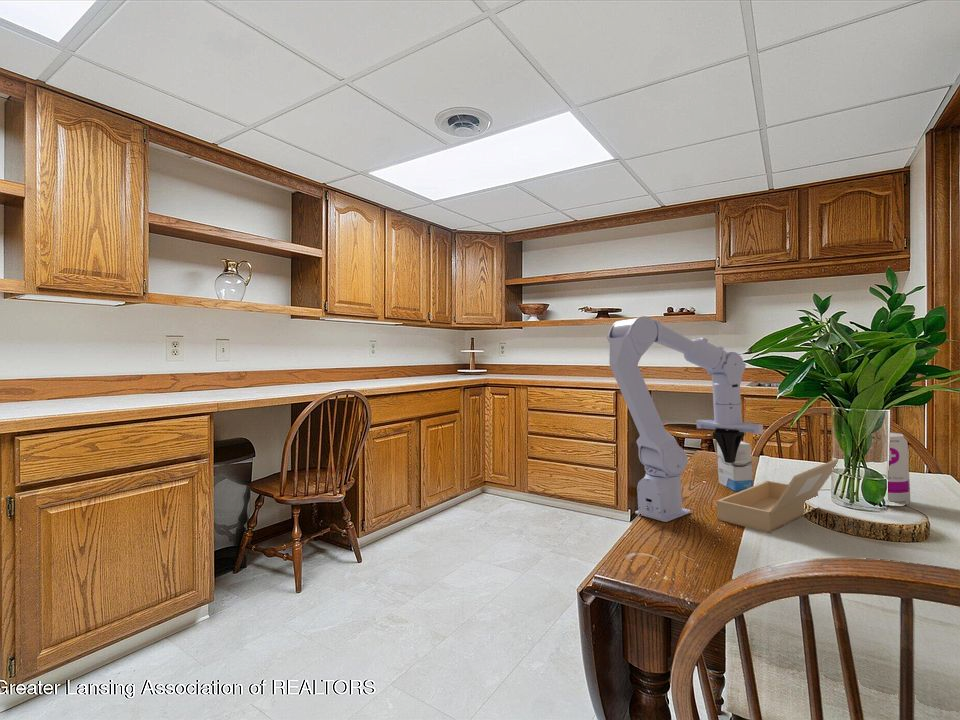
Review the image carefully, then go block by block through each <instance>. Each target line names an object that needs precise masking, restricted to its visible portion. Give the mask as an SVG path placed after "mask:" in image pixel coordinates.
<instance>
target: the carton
mask: <svg viewBox="0 0 960 720" xmlns="http://www.w3.org/2000/svg"><path fill="white" fill-rule="evenodd" d="M788 485H789V483H781V482H777V481H776V482H775V481H769V480H766V481H763V482H761V483H758V484H755V485H753V487H750V488H748V489H745V490H743V491H736V492H735V493H733V494H730V495H728V496H726V497H722V498H720V499H717V500H716V511H717V512H716V513H717V515H716V516H717V521H721V522H722V521H723V522H726V523H731V524H733V525H737V526H742V527H745V528H749V529H752V530H753V529H754V530H756V531H757V530H758V531H761V532H765V533H769V534H771V533H773V532H775V531H777V530H778V529H781V528H782V527H784V526H786V525H788V524H790V523H792V522H794V521H796V520H798V519H800V518H803V511H804V503H805V501H806V500H809V499H811V498H813V497H816V496H818V497H819V491H818V492H816V493H814V494H812V495H809V496H807V497H805V498H803V499H801V500H799V501H797V502H795V503H793V504H791V505H788V506H786V507H784V508H782V509H780V510H778V511H776V512H774V513H771V512H770V511H771V510H772V508H773V507H774V505H775V504H776V502H777V501H778V499H779V498H780V496H781V495H782V493H783V492H784V491H785V489H786V488H787V486H788Z"/></svg>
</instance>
